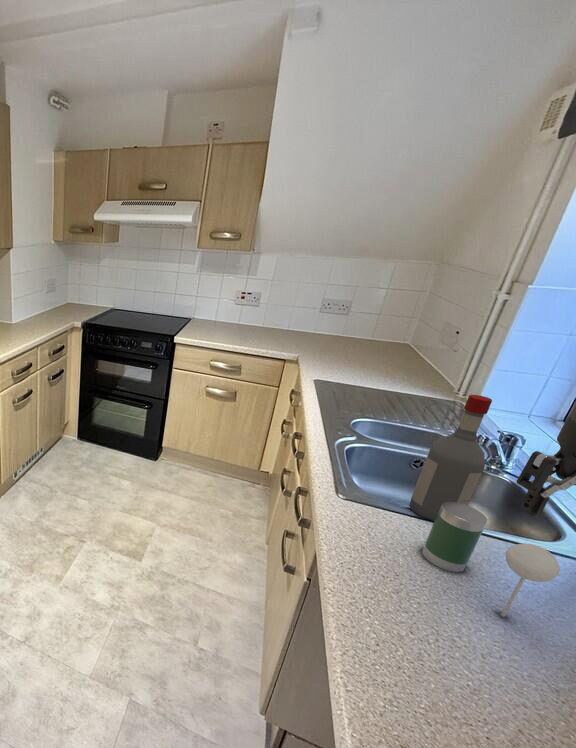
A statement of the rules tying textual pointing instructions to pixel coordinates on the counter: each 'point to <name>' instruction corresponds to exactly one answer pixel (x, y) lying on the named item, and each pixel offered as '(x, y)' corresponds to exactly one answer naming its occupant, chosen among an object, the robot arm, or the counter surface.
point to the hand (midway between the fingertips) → (557, 514)
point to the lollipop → (530, 566)
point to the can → (454, 536)
